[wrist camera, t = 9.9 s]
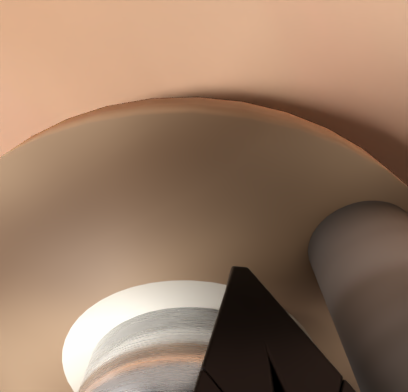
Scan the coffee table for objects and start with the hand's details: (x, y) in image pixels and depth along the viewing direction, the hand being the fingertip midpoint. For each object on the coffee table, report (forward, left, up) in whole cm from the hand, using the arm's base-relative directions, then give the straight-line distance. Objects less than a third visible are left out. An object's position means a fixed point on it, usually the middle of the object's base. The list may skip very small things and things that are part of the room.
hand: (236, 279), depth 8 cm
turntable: (+1, +6, -3) cm, 7 cm away
